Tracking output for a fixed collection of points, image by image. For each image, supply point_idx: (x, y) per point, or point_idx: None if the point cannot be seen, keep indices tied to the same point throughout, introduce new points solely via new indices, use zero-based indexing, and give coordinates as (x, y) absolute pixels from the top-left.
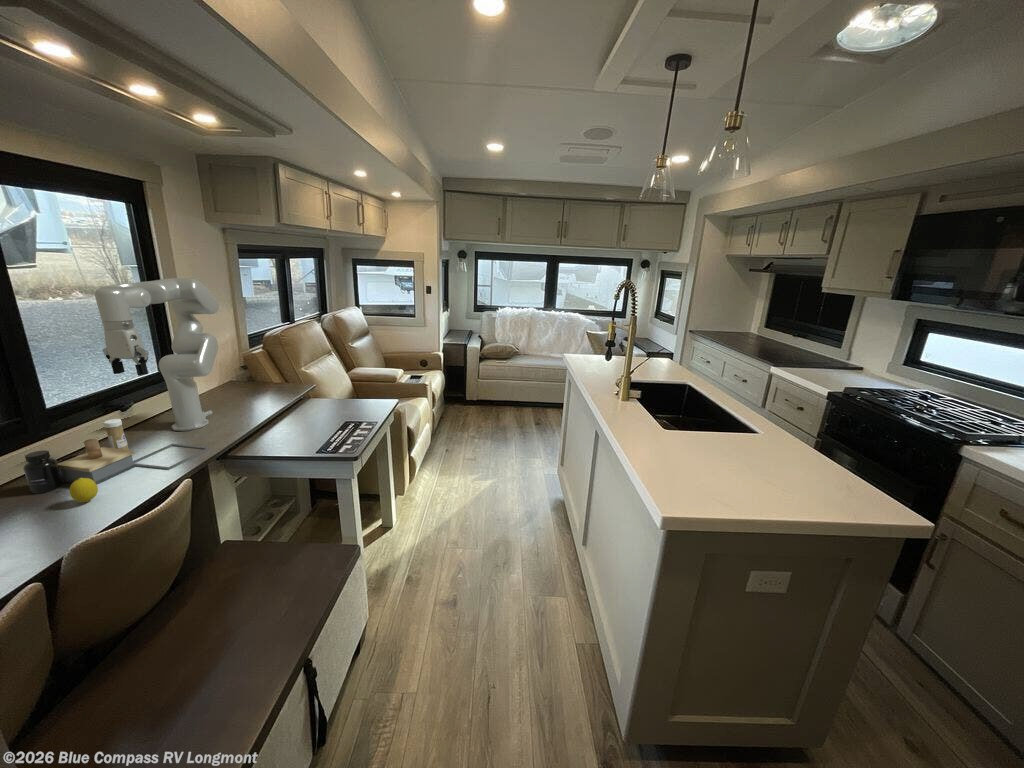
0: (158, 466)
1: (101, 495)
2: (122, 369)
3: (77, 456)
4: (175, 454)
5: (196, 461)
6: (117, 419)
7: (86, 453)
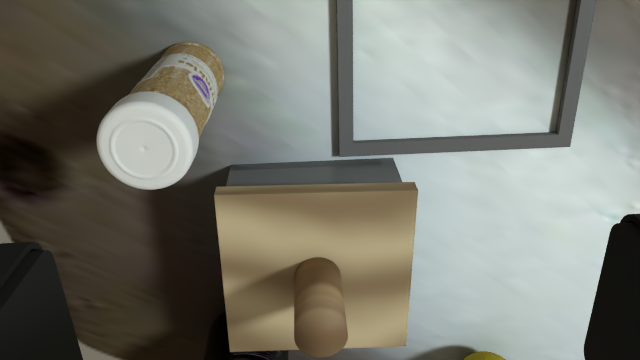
0: (507, 141)
1: (479, 325)
2: (30, 313)
3: (227, 288)
4: (464, 5)
5: (634, 47)
6: (150, 122)
7: (229, 260)
